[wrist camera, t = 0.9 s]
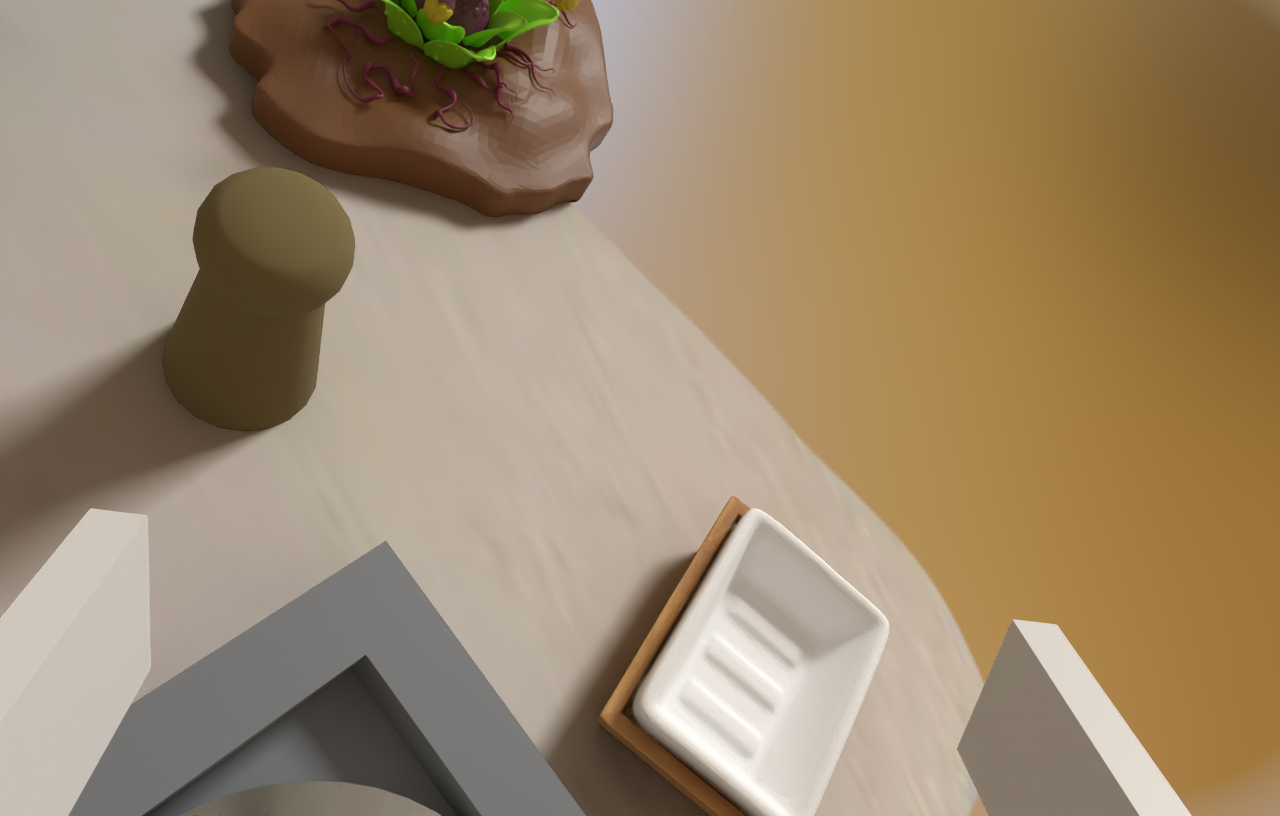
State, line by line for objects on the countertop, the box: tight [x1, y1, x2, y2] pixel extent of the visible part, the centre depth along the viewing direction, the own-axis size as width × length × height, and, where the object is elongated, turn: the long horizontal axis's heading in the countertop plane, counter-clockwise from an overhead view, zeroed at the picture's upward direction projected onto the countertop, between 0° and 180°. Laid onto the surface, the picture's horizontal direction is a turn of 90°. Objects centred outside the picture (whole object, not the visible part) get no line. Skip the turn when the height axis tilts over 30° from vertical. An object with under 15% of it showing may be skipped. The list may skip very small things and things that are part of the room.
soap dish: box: [598, 496, 889, 816], centre depth 43 cm, size 12×10×5 cm
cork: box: [163, 167, 355, 431], centre depth 37 cm, size 6×6×11 cm
